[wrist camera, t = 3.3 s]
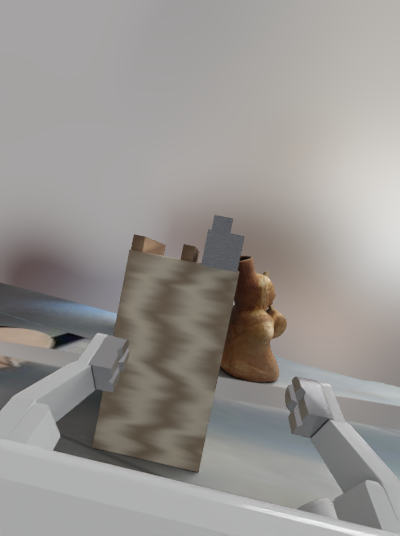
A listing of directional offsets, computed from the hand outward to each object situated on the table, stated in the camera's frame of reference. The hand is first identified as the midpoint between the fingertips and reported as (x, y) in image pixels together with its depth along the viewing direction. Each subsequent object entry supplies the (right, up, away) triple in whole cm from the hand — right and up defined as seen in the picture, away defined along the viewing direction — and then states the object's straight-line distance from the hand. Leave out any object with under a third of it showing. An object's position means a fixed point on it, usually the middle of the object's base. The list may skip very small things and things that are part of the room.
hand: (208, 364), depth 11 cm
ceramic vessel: (+9, -23, +47) cm, 53 cm away
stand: (-7, -20, +24) cm, 32 cm away
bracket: (+2, +5, +17) cm, 18 cm away
